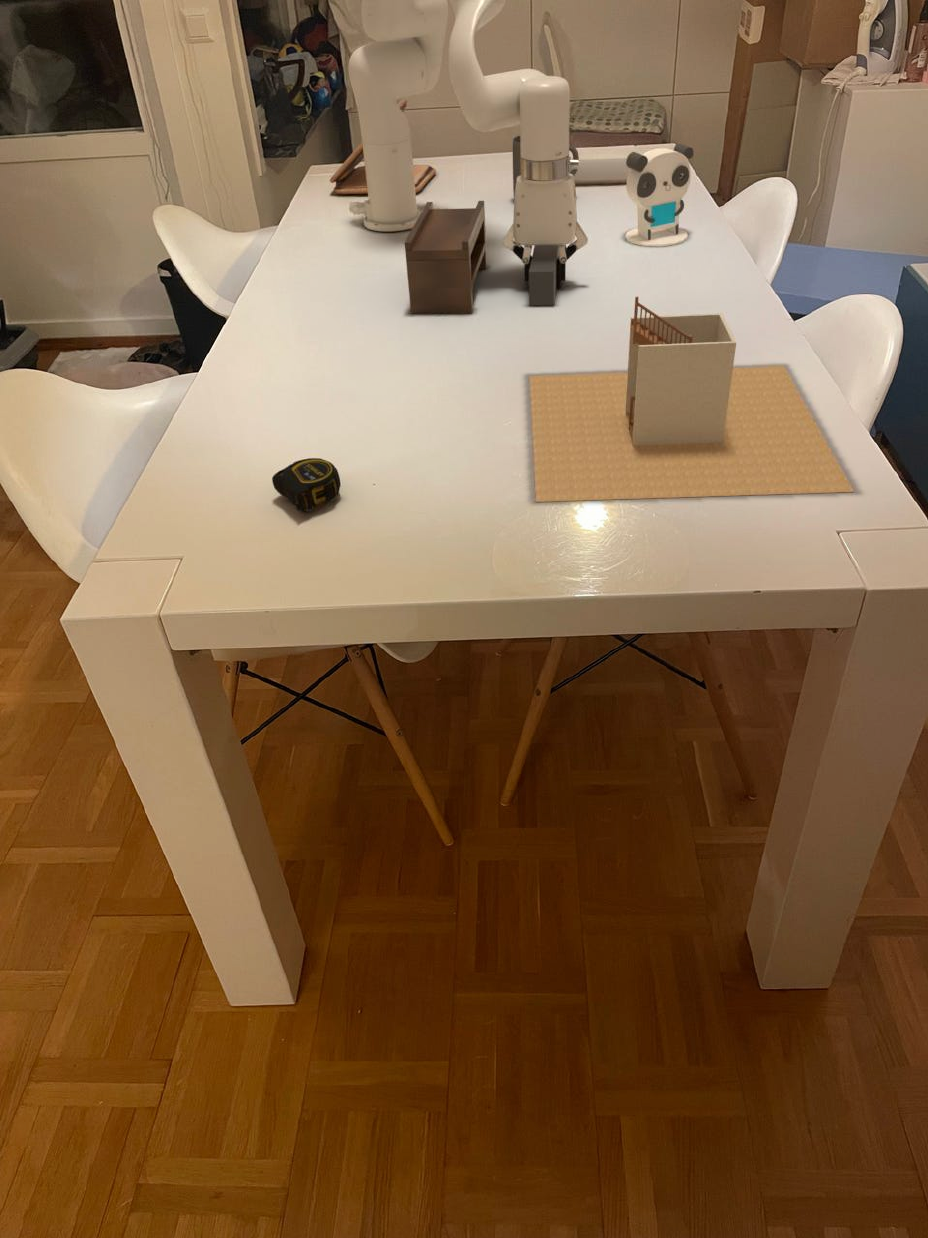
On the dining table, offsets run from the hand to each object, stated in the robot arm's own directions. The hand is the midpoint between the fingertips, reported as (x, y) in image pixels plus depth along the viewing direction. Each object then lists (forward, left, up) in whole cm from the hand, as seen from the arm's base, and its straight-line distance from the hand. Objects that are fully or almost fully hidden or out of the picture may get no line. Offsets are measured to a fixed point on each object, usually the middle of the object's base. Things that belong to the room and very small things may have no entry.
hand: (544, 283), depth 156 cm
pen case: (0, 0, 0) cm, 0 cm away
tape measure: (-23, -69, -1) cm, 73 cm away
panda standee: (+19, +25, -1) cm, 31 cm away
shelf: (-16, -1, 0) cm, 16 cm away
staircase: (+19, -50, -1) cm, 53 cm away
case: (-41, +67, -1) cm, 79 cm away
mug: (-3, +51, -1) cm, 51 cm away
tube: (+13, +63, -1) cm, 64 cm away
